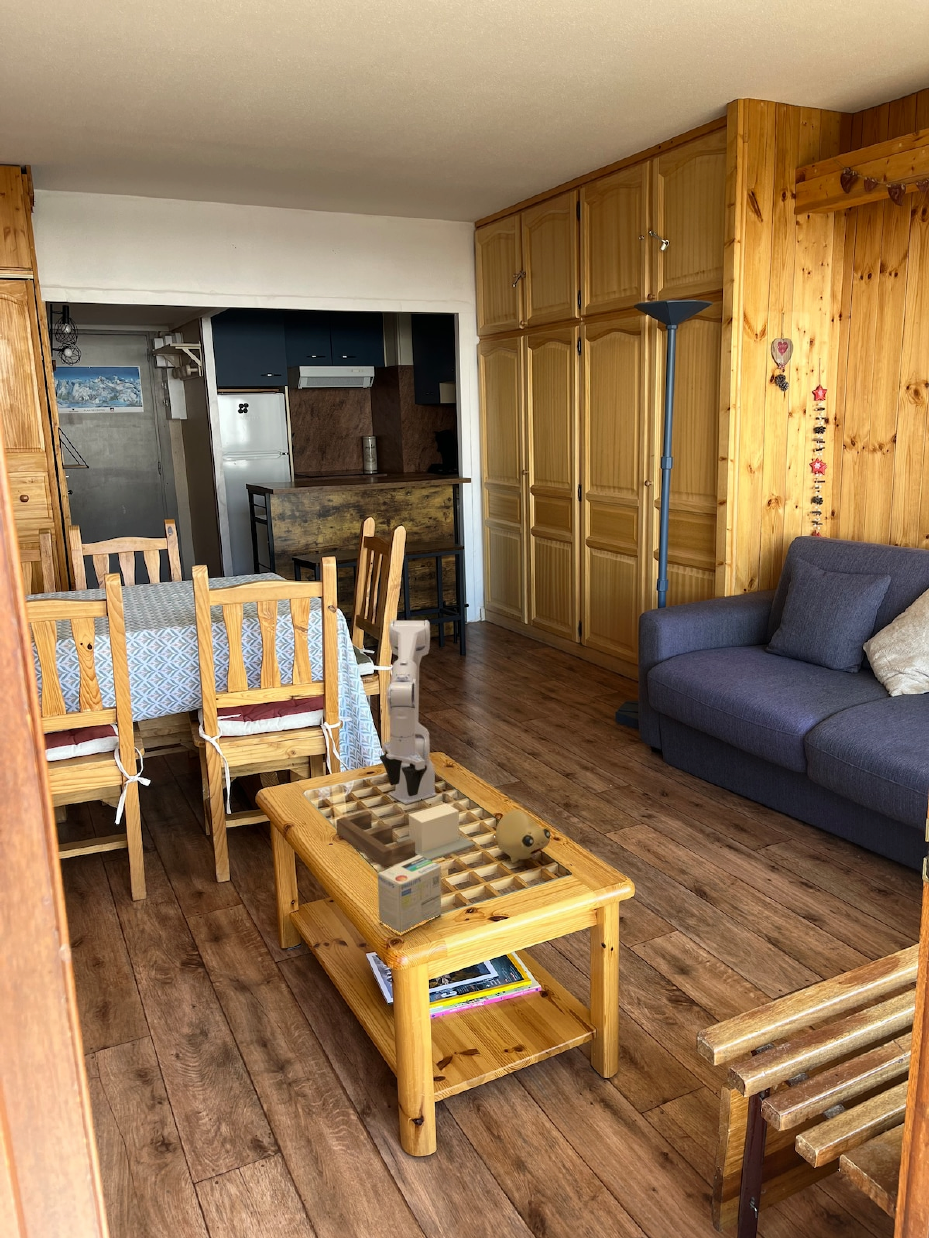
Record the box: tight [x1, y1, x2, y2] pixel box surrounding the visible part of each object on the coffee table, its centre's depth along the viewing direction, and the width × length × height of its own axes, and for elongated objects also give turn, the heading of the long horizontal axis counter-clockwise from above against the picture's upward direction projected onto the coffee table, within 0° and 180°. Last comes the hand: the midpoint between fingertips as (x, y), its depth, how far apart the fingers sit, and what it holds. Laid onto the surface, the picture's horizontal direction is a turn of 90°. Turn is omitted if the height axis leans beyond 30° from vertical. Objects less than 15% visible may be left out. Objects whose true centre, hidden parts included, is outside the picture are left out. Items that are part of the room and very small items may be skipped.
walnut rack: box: [336, 810, 416, 868], centre depth 211 cm, size 8×20×4 cm, turn 37°
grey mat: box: [395, 833, 476, 862], centre depth 212 cm, size 13×12×1 cm
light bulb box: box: [377, 855, 442, 933], centre depth 180 cm, size 11×7×11 cm, turn 134°
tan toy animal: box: [495, 808, 551, 863], centre depth 204 cm, size 10×12×11 cm
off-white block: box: [408, 803, 460, 852], centre depth 211 cm, size 10×5×7 cm, turn 127°
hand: (403, 789), depth 218 cm, fingers open, 7 cm apart
